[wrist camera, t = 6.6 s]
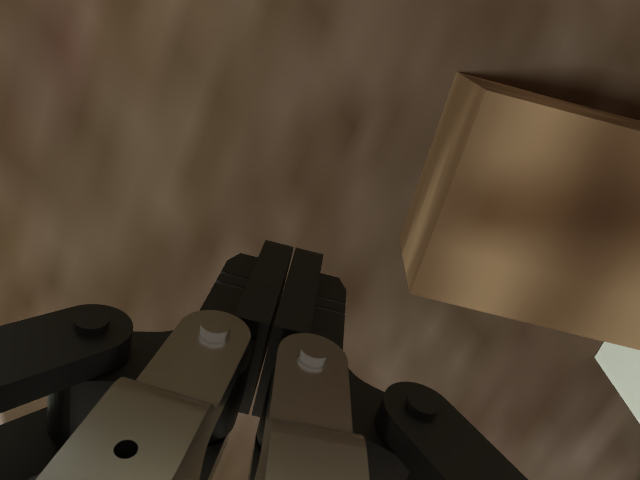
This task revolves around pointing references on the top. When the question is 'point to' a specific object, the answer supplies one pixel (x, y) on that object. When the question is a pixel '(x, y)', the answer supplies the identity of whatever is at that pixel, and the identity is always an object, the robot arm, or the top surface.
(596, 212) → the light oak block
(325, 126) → the top surface
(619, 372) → the cream rectangular block
